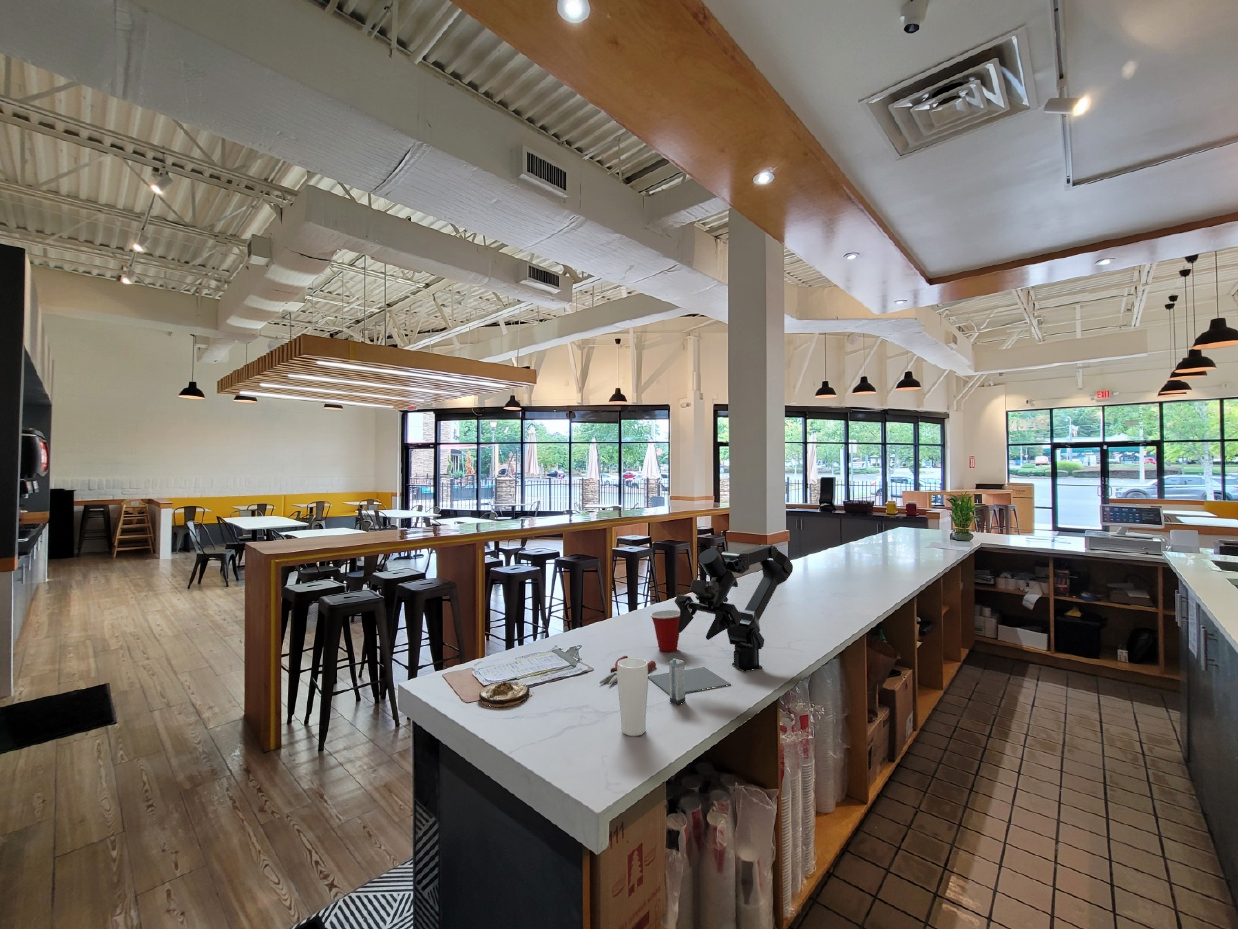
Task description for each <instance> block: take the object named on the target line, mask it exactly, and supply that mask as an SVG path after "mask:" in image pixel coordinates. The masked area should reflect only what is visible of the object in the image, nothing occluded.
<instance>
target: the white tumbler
mask: <svg viewBox="0 0 1238 929" xmlns="http://www.w3.org/2000/svg"><path fill="white" fill-rule="evenodd" d="M648 663H649V662H648V660H645V659H644V658H639V657H628V658H625V659H622V660H620V661H618V665H617V691H618V701H619V711H620V725H621V726H620V727H621V728H620V729H621V731H622V733H623V734H624V735H626V736H628V737H638V736H641V735H643V734H644V733H645V732H646V731H647V730H646V729H647V728H646V727H647V726H646V725H647V724H646V720H647V706H648V705H647V704H648V691H649V678H648V676H649V672H648Z"/></svg>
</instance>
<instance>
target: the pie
mask: <svg viewBox="0 0 1238 929" xmlns="http://www.w3.org/2000/svg"><path fill="white" fill-rule="evenodd" d="M530 690H531V689H530V687H529V686H528V684H526V683H524V684H523V682H522V683H519V681H508V680H505V681H502V682H500V681H498V682H494V683H491V684H488V685H486V686H485V687H483V688H482V690H481V691H480V692H479V694H478V697H479V700H480V702H481V701H482V702H481V703H482V704H483V705H484V704H485V705H484V706H486V705H490V706H491V707H495V708H494V709H497V708H499V709H504V708H510V706H511V707H515V706H514V705H516V706H517V705H519V704H522V703H524V702H525V701H526V702H528V700H527V698H528V697H531V698H532V697H533V695H532V694H535V692H534V691H532V694H531V693H530ZM491 707H490V708H491Z"/></svg>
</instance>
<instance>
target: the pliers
mask: <svg viewBox="0 0 1238 929" xmlns="http://www.w3.org/2000/svg"><path fill="white" fill-rule="evenodd" d="M625 658H629V657H628V655H624V656H621V657H619V658H617V660H616V661H615V664H614V665H615V666H614V667H611V668H610V673H609V674H608V675H607V676H605V677H604V678H603V679H602V680H600V681H599V684H604V683H607V684H608V686H610V685H612V684H614V683H618V681H617V665H618V661H620V660H622V659H625ZM647 663H648V673H649V672H652V671H653V670H654V669H656V667H657V664H656V661H655V660H651V661H648V662H647Z"/></svg>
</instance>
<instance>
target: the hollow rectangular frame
mask: <svg viewBox="0 0 1238 929" xmlns="http://www.w3.org/2000/svg"><path fill="white" fill-rule="evenodd" d="M685 662H686V661H685V660H681V659H678V658H672V660H670V661H669V662H668V664H669V666H668V668H669V669H668V670H669V671H668V673H669V678H670V696H669V703H670V702H671V703H670V704H673V705H675V704H676V706H680V705H682V704H684V703H685V702H686V693H685V670H686V668H685V666H686V665H685ZM684 701H685V702H684ZM683 702H684V703H683ZM681 703H682V704H681Z"/></svg>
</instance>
